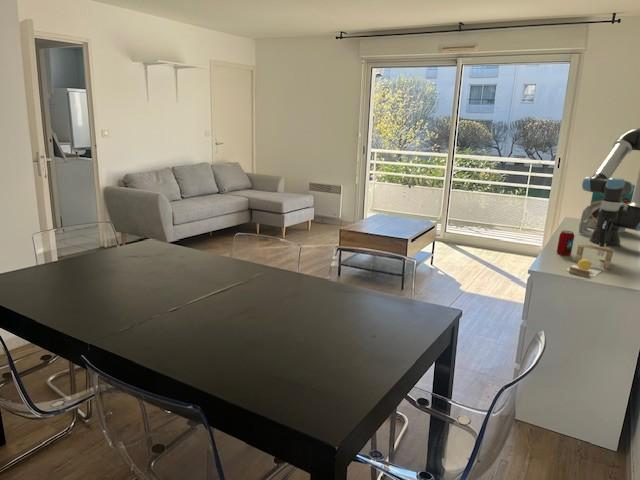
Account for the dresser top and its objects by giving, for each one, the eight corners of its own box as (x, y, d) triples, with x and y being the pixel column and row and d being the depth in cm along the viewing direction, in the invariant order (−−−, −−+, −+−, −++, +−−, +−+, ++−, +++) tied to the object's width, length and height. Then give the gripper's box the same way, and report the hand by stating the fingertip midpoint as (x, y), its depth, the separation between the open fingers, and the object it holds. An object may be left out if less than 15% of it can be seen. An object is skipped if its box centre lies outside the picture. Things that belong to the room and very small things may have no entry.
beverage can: (570, 256, 246) (574, 234, 243) (555, 254, 250) (559, 231, 246) (571, 254, 252) (575, 231, 249) (557, 251, 255) (561, 229, 252)
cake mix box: (586, 227, 318) (594, 181, 310) (586, 225, 323) (595, 180, 315) (624, 232, 307) (634, 185, 299) (624, 230, 312) (634, 184, 304)
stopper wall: (569, 271, 222) (570, 266, 221) (589, 276, 217) (590, 270, 216) (568, 272, 221) (569, 267, 220) (588, 277, 216) (589, 271, 215)
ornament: (587, 229, 313) (592, 203, 308) (609, 233, 304) (615, 207, 300) (576, 234, 297) (581, 207, 292) (600, 238, 288) (606, 211, 284)
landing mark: (573, 265, 232) (573, 264, 232) (601, 271, 225) (601, 271, 225) (565, 270, 224) (565, 269, 224) (594, 277, 216) (594, 276, 216)
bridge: (576, 260, 240) (580, 242, 238) (609, 267, 231) (613, 249, 229) (574, 261, 238) (578, 243, 236) (607, 269, 229) (611, 250, 226)
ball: (575, 271, 225) (579, 265, 229) (588, 274, 222) (592, 268, 225) (576, 261, 223) (580, 255, 226) (589, 264, 219) (593, 258, 222)
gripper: (604, 206, 245) (595, 251, 252) (598, 209, 236) (588, 256, 242) (621, 209, 241) (611, 254, 247) (615, 212, 231) (605, 259, 237)
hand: (600, 255), depth 245 cm, fingers closed
